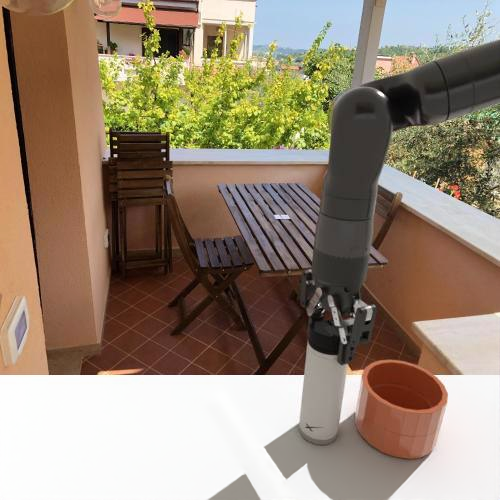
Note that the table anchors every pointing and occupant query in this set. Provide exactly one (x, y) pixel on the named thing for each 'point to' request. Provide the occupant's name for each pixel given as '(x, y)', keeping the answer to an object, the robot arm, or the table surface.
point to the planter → (400, 408)
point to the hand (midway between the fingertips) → (328, 348)
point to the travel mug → (322, 384)
